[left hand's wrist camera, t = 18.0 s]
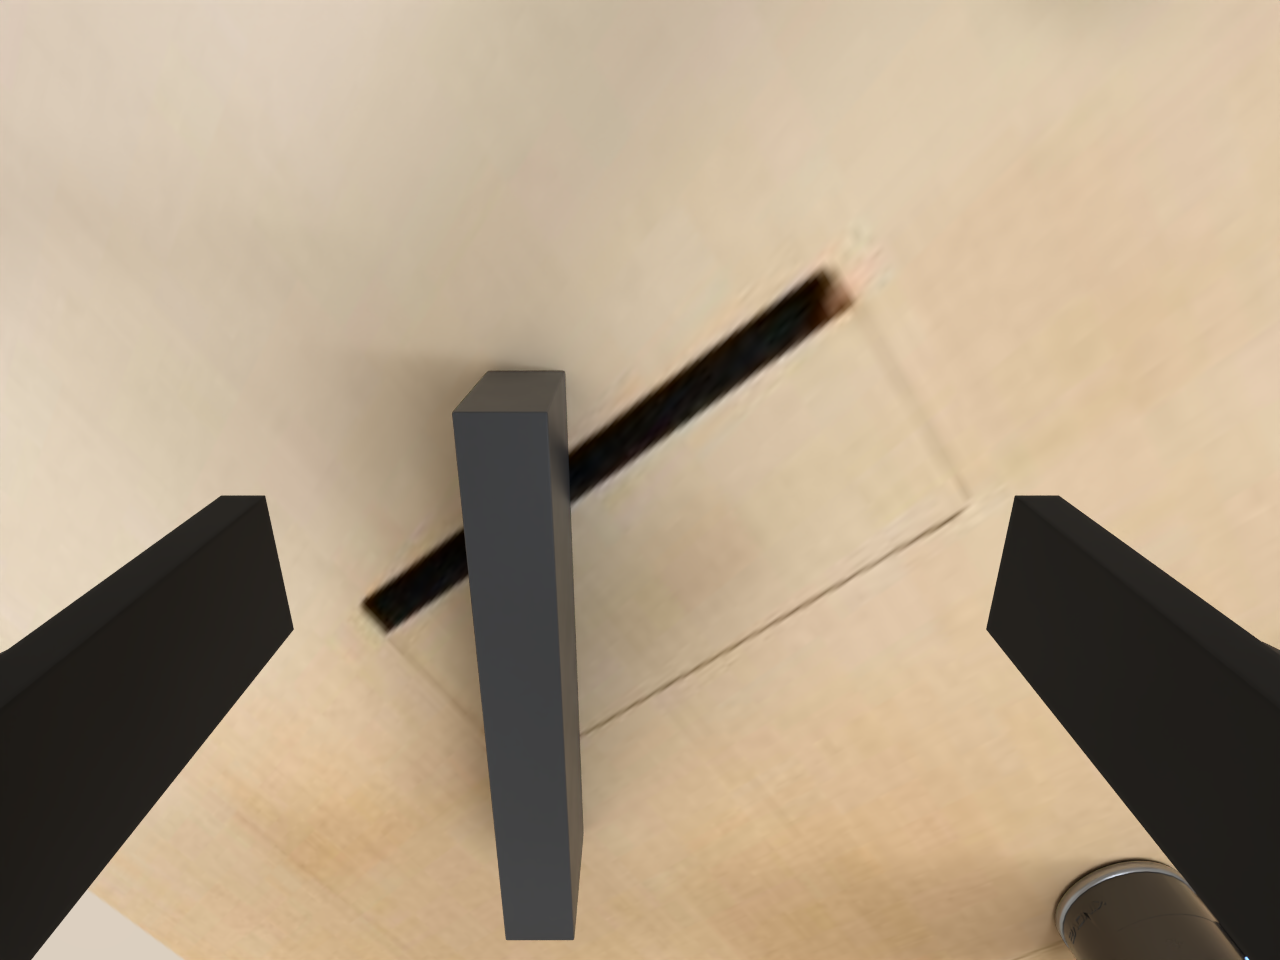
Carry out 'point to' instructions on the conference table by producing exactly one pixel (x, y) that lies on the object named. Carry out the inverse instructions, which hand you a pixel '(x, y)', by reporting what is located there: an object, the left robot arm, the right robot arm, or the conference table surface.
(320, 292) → the conference table surface
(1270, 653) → the left robot arm
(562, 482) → the rail
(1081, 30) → the conference table surface
